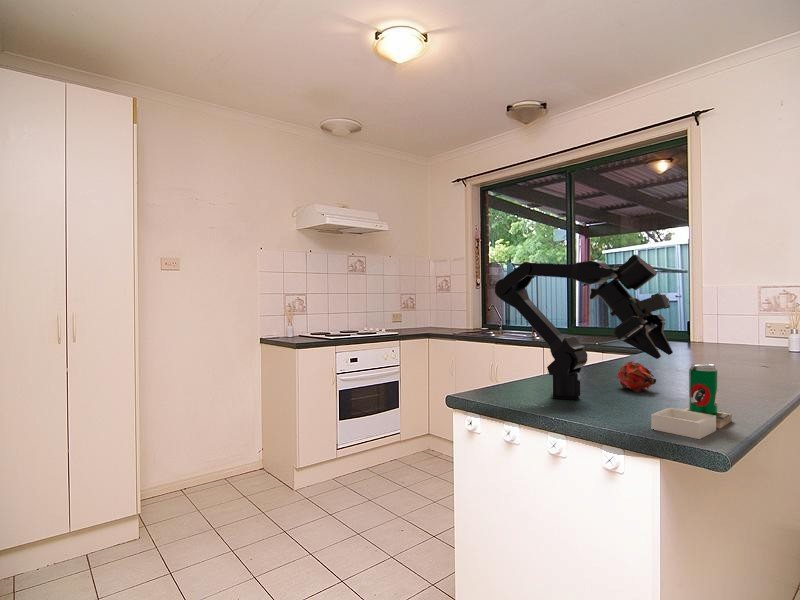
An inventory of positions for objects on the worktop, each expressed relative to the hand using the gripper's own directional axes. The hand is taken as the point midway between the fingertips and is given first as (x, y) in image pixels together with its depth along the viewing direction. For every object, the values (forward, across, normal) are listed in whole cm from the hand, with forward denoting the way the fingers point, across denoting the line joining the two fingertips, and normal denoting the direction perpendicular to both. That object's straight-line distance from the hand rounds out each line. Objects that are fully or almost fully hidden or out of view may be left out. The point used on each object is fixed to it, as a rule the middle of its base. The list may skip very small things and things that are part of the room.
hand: (665, 355), depth 106 cm
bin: (+14, -13, +3) cm, 19 cm away
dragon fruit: (+2, +23, +19) cm, 29 cm away
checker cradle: (+15, -2, +2) cm, 15 cm away
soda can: (+15, -2, +2) cm, 16 cm away
